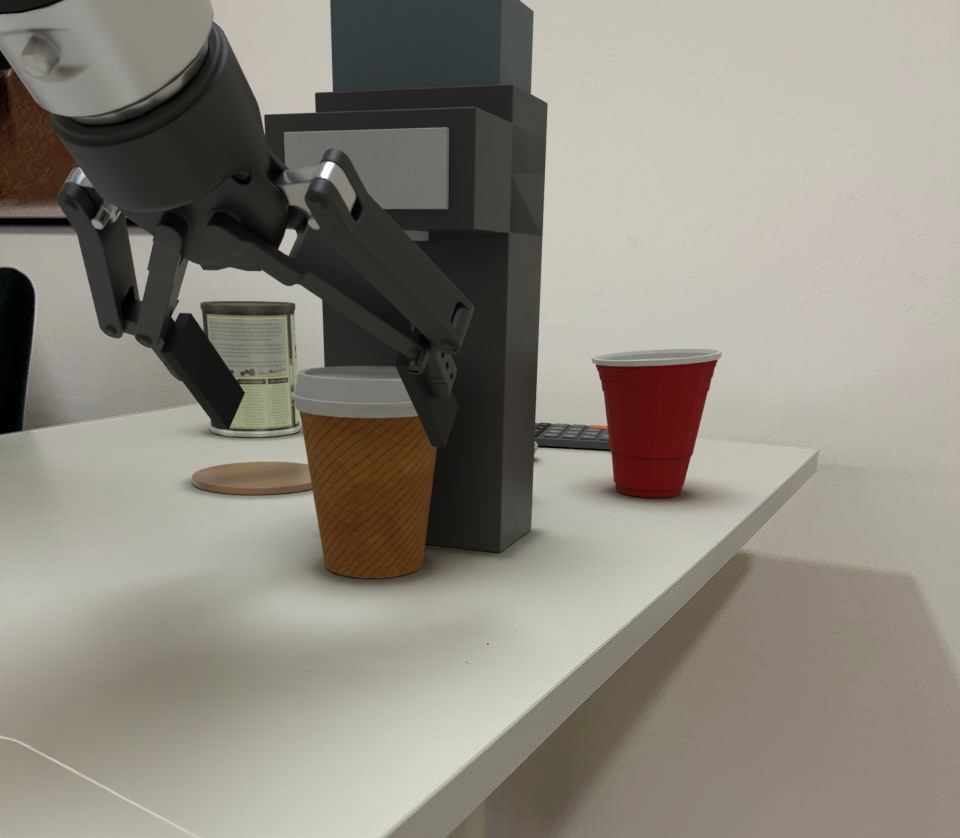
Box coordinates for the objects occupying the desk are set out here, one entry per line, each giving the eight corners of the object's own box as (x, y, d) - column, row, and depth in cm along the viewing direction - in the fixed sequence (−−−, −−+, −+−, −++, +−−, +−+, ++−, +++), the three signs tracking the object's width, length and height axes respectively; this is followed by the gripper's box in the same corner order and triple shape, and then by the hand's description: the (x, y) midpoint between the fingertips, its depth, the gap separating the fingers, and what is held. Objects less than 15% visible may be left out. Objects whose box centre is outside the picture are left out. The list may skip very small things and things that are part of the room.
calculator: (619, 441, 105) (482, 433, 108) (618, 449, 105) (482, 442, 108) (627, 426, 116) (503, 419, 119) (627, 433, 116) (502, 427, 119)
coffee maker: (465, 578, 61) (475, -53, 49) (282, 554, 65) (251, -32, 53) (531, 529, 73) (551, 11, 61) (372, 512, 77) (363, 24, 65)
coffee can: (194, 428, 114) (184, 300, 109) (274, 421, 121) (267, 300, 116) (235, 440, 107) (226, 304, 102) (317, 432, 113) (312, 303, 108)
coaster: (162, 483, 85) (161, 476, 85) (257, 463, 95) (257, 456, 95) (267, 501, 80) (267, 493, 80) (357, 477, 90) (357, 471, 89)
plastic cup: (584, 476, 92) (592, 343, 88) (701, 481, 91) (715, 346, 87) (583, 501, 82) (591, 352, 78) (714, 507, 81) (730, 356, 77)
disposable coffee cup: (308, 591, 58) (299, 381, 53) (291, 549, 66) (282, 365, 62) (465, 581, 60) (467, 380, 56) (428, 541, 69) (428, 364, 65)
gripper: (-161, 141, 40) (127, 455, 58) (400, 122, 32) (527, 494, 50) (-73, 20, 42) (175, 356, 61) (463, -26, 34) (561, 377, 53)
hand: (334, 419), depth 56 cm, fingers open, 13 cm apart
